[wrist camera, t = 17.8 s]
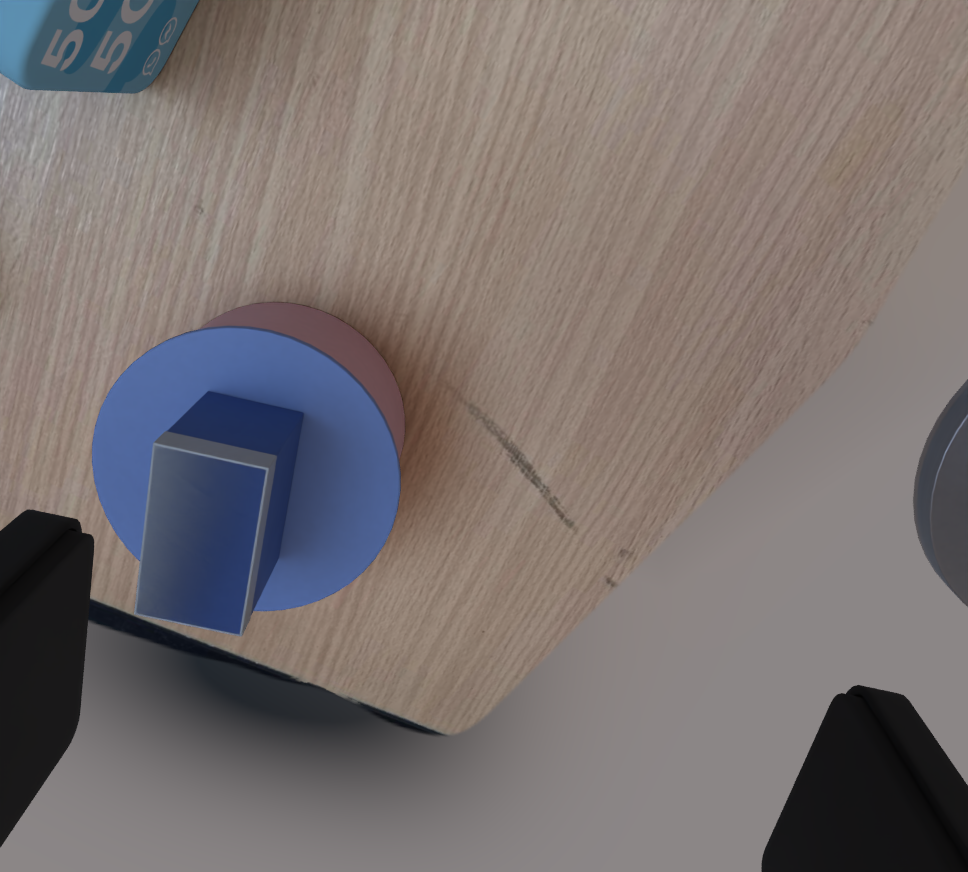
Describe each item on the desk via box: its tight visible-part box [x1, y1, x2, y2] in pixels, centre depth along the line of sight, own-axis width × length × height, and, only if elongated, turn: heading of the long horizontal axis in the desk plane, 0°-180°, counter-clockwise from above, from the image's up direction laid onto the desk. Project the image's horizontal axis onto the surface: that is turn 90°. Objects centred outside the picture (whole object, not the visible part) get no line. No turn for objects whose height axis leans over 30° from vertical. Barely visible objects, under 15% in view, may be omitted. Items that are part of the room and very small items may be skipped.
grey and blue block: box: [134, 391, 304, 636], centre depth 34 cm, size 4×7×6 cm, turn 167°
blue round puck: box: [92, 302, 405, 611], centre depth 40 cm, size 13×13×7 cm
